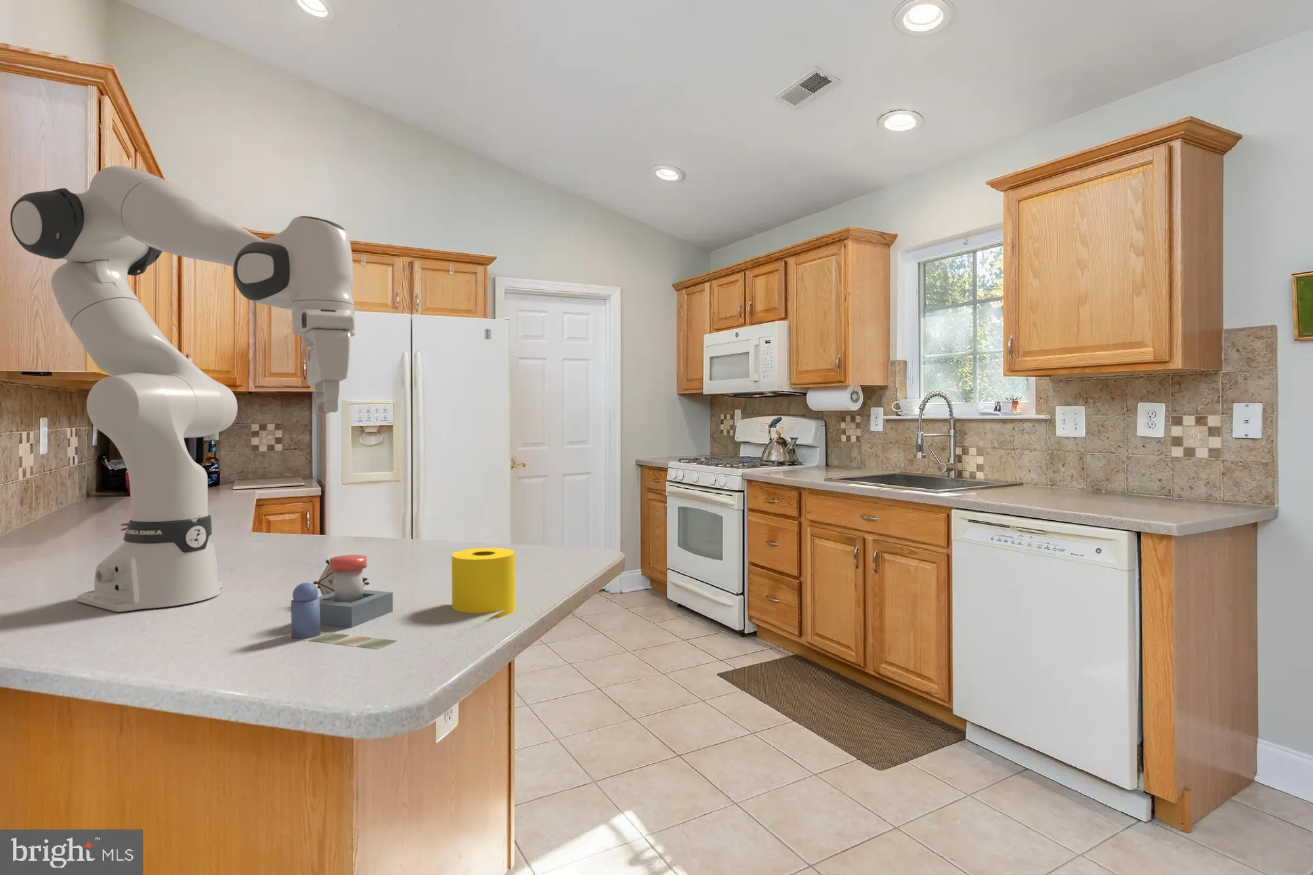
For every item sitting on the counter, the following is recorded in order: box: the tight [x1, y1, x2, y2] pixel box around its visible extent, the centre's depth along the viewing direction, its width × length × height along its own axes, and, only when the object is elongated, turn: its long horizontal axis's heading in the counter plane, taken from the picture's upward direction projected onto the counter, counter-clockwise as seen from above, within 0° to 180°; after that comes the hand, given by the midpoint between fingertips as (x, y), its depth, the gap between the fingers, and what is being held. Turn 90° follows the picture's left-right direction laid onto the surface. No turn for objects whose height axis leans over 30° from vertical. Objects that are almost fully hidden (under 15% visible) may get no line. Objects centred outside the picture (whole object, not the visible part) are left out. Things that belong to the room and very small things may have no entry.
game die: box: [312, 559, 371, 596], centre depth 118 cm, size 9×8×10 cm
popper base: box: [318, 589, 394, 629], centre depth 108 cm, size 9×9×4 cm
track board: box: [285, 631, 397, 650], centre depth 97 cm, size 16×8×1 cm, turn 72°
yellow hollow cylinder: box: [451, 547, 516, 619], centre depth 115 cm, size 10×10×9 cm
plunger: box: [329, 554, 368, 603], centre depth 108 cm, size 5×5×7 cm
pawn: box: [290, 582, 321, 640], centre depth 99 cm, size 4×4×7 cm
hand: (327, 413), depth 109 cm, fingers open, 8 cm apart
